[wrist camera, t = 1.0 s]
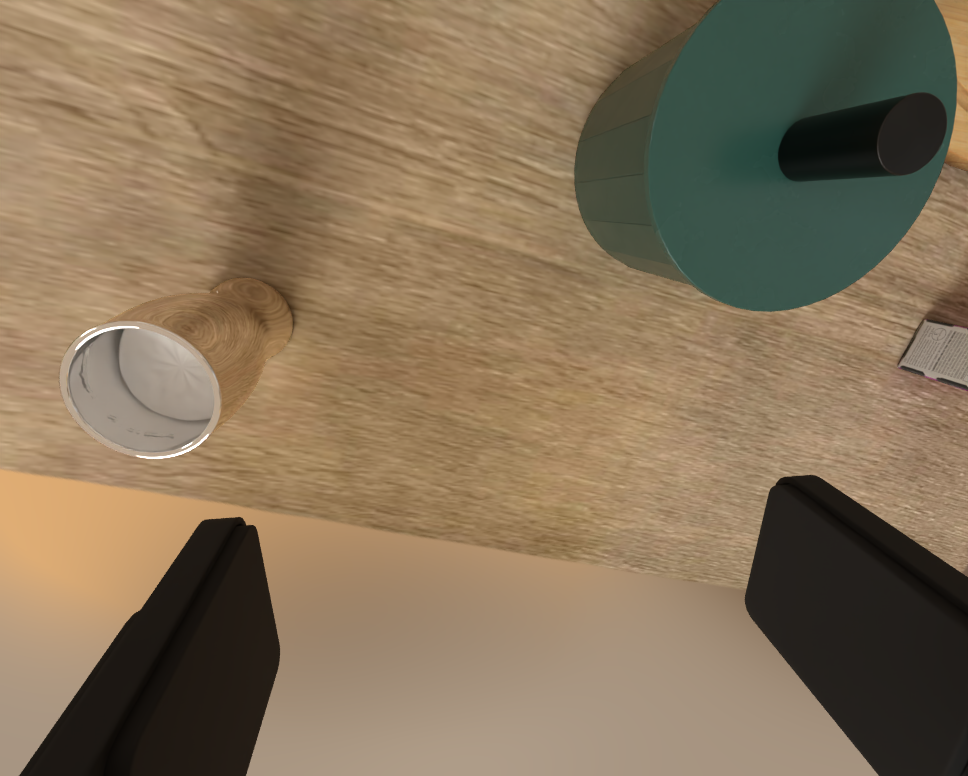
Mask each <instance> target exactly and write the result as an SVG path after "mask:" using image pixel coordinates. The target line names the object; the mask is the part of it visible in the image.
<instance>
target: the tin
mask: <svg viewBox="0 0 968 776" xmlns="http://www.w3.org/2000/svg"><path fill="white" fill-rule="evenodd" d="M695 26H696V24H695V25H694V26H692V27H690V28H689V29H687V30H686V31H684V32H683V33H681V34H680V35H678V36H677V37H675V38H673V39H672V40H670V41H669V42H667V43H666V44H664V45H663V46H661V47H660V48H658V49H657V50H655V51H653V52H652V53H650V54H649V55H647V56H646V57H644V58H643V59H641V60H640V61H638V62H636V63H635V64H633V65H632V66H630V67H629V68H627V69H626V70H624V71H623V72H622V73H621V74H620V75H619V77H618V78H617V79H616V80H615V81H614V82H613V83H612V84H611V85H610V86H609V87H608V88H607V89H606V90H605V92H604V93H603V94H602V95H601V97H600V98H599V99H598V101H597V103H596V104H595V106H594V107H593V109H592V110H591V112H590V115H589V117H588V119H587V121H586V123H585V125H584V128H583V131H582V133H581V136H580V139H579V144H578V148H577V152H576V160H575V191H576V198H577V202H578V206H579V210H580V213H581V215H582V218H583V220H584V223H585V225H586V226H587V228H588V230H589V232H590V234H591V235H592V236H593V238H594V239H595V240H596V242H597V243H598V244H599V245H600V246H601V247H602V248H603V249H604V250H605V251H606V252H607V253H608V254H610V255H611V256H612V257H614V258H615V259H616V260H618V261H620V262H622V263H624V264H625V265H627V266H628V267H631V268H634V269H637V270H641V271H644V272H648V273H651V274H654V275H658V276H661V277H665V278H668V279H672V280H675V281H678V282H682V283H685V284H689V283H688V282H687V281H686V280H685V279H684V278H683V277H682V276H681V275H680V274H679V273H678V272H677V271H676V269H675V268H674V267H673V265H672V264H671V262H670V261H669V260H668V258H667V257H666V255H665V254H664V252H663V250H662V248H661V246H660V244H659V242H658V240H657V238H656V235H655V232H654V230H653V227H652V224H651V221H650V218H649V213H648V208H647V203H646V198H645V188H644V175H643V172H644V149H645V143H646V137H647V130H648V125H649V121H650V117H651V113H652V110H653V106H654V102H655V99H656V97H657V94H658V92H659V89H660V86H661V84H662V81H663V79H664V76H665V74H666V72H667V70H668V68H669V66H670V65H671V63H672V61H673V59H674V57H675V55H676V53H677V51H678V50H679V48H680V47H681V45H682V44H683V42H684V41H685V39H686V38H687V36H688V35H689V33H690V32H691V30H692V29H693V28H694V27H695ZM689 285H691V284H689Z"/></svg>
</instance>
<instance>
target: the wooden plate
mask: <svg viewBox="0 0 968 776" xmlns="http://www.w3.org/2000/svg"><path fill="white" fill-rule="evenodd" d="M934 1H935V3H936V4H937V6H938V8H939V10H940V12H941V14H942V15H943V18H944V20H945V23H946V26H947V28H948V31H949V34H950V37H951V41H952V46H953V50H954V55H955V61H956V72H957V106H956V113H955V121H954V128H953V132H952V136H951V140H950V145H949V149H948V152H947V155H946V158H945V161H944V163H946V164H948V165H950V166H953V167H956V168H959V169H962V170H965V171H968V0H934Z"/></svg>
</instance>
